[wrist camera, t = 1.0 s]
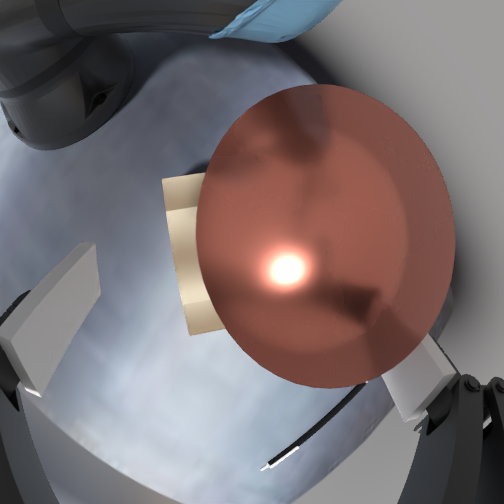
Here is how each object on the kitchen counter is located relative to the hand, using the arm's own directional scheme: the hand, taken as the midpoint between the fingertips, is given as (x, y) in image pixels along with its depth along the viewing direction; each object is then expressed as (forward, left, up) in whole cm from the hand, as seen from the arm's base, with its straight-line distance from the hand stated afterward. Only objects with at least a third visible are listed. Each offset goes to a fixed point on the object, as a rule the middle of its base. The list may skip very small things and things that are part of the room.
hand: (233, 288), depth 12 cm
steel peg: (-1, +3, -12) cm, 13 cm away
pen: (+22, +9, -13) cm, 27 cm away
